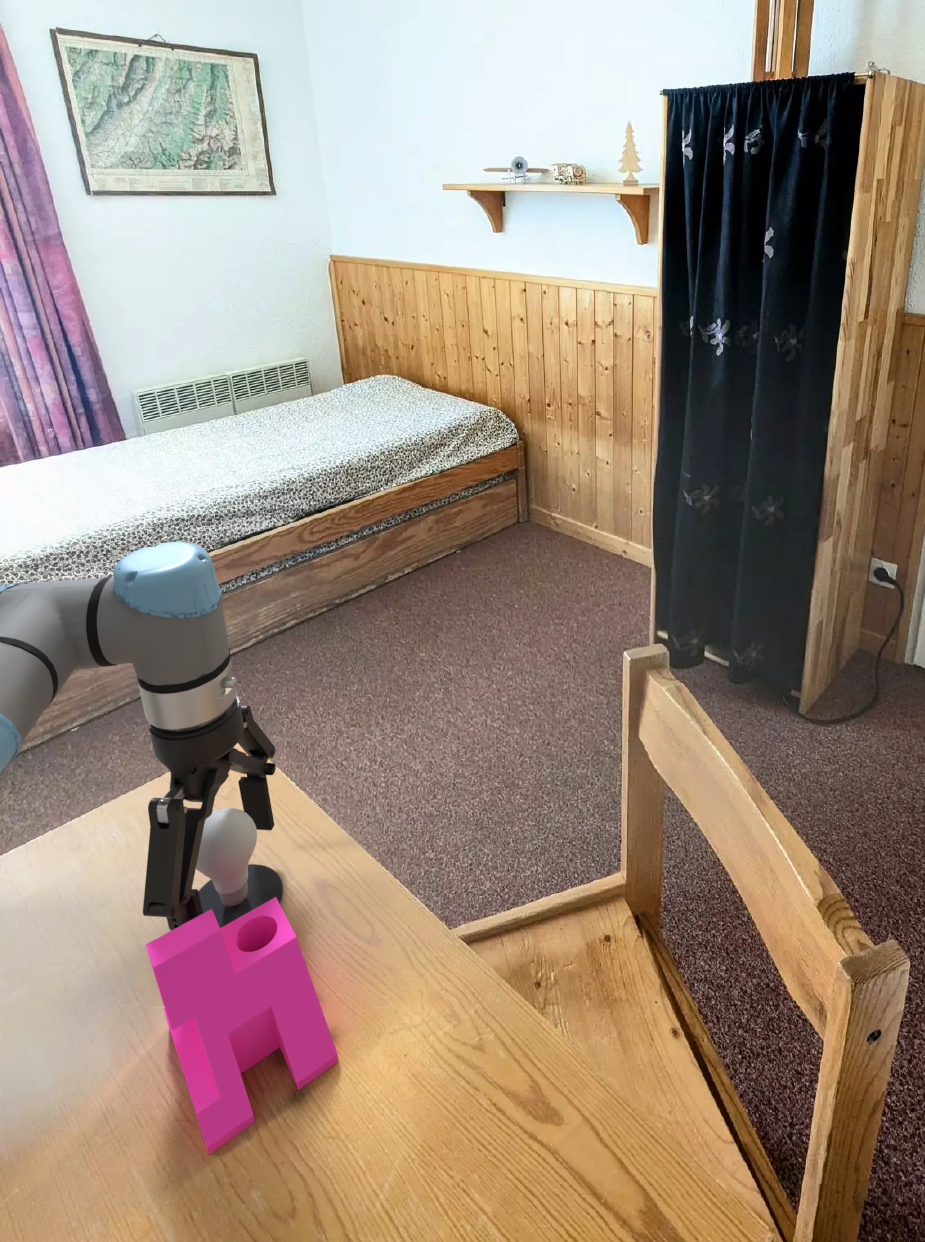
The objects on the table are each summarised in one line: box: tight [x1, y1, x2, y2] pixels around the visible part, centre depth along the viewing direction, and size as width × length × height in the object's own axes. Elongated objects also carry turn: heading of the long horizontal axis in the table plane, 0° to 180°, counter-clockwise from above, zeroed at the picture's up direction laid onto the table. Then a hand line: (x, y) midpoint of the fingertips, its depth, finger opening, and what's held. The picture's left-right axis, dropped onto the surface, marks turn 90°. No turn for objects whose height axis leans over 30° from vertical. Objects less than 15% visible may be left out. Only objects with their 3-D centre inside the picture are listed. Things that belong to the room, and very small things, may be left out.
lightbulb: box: [196, 807, 258, 906], centre depth 76 cm, size 6×6×11 cm
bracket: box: [145, 897, 339, 1156], centre depth 64 cm, size 12×10×10 cm
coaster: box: [198, 863, 284, 928], centre depth 78 cm, size 9×9×1 cm
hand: (230, 881), depth 77 cm, fingers open, 13 cm apart
